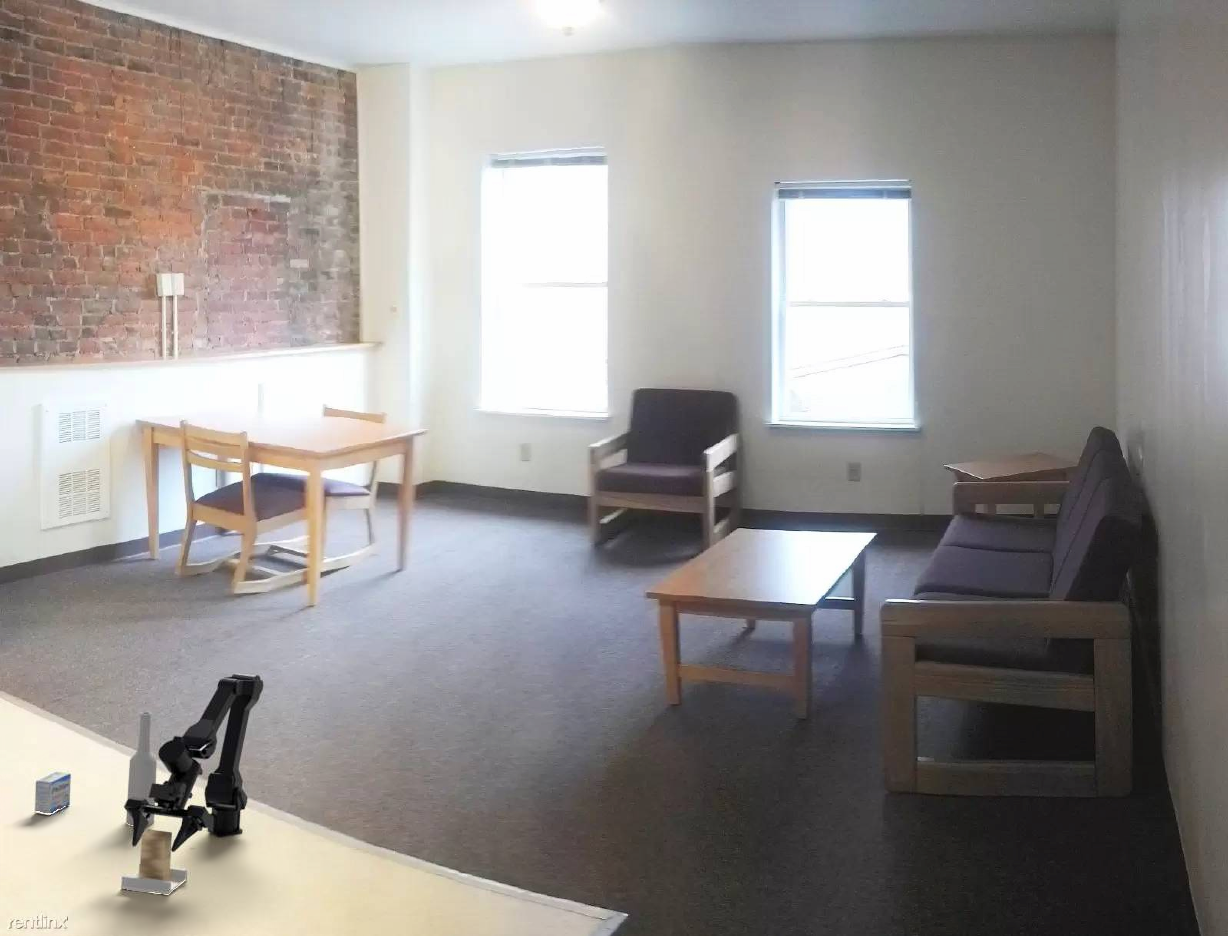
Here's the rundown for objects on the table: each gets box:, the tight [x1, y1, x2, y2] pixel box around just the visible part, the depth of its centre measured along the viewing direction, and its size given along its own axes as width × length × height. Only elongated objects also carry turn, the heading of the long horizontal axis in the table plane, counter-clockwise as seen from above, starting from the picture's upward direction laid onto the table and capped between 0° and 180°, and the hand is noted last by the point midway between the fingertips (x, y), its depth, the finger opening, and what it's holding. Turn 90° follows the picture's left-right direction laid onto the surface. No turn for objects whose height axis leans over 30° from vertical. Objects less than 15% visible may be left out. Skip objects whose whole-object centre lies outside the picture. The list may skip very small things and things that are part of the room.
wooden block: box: [139, 828, 173, 881], centre depth 263 cm, size 6×3×11 cm, turn 82°
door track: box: [120, 863, 188, 894], centre depth 263 cm, size 11×8×3 cm
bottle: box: [125, 711, 158, 827], centre depth 297 cm, size 7×7×28 cm
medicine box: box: [34, 771, 72, 813], centre depth 301 cm, size 8×4×9 cm, turn 168°
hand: (152, 848), depth 261 cm, fingers open, 9 cm apart
